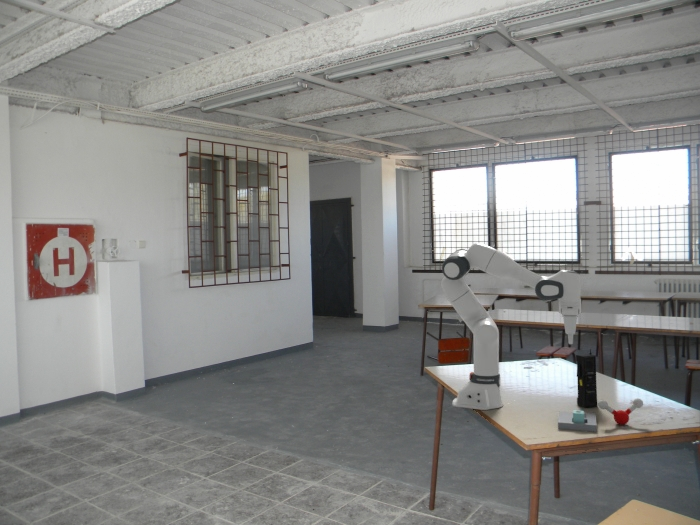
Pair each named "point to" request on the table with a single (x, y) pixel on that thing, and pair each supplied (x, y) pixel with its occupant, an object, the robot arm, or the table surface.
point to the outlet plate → (567, 423)
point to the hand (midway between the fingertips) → (570, 342)
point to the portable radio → (586, 380)
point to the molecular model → (620, 415)
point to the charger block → (578, 416)
